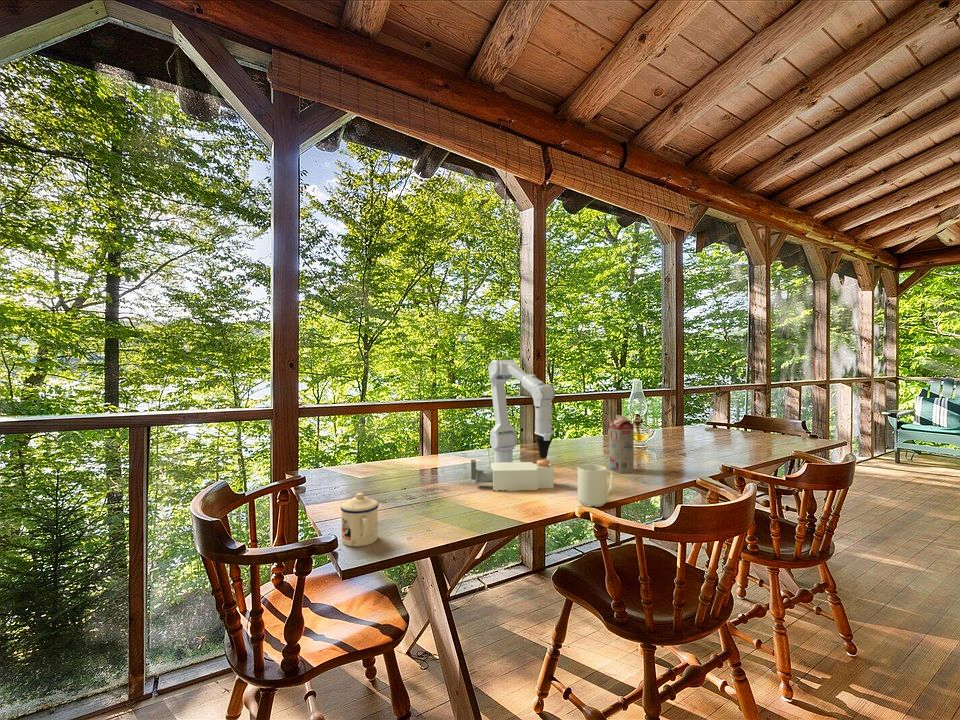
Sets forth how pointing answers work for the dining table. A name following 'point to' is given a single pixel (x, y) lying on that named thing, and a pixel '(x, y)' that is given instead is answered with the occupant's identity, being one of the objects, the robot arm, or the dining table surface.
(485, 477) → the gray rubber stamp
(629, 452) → the juice carton
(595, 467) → the mug
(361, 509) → the teacup with lid
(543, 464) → the plunger button
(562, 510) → the dining table surface
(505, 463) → the button housing
